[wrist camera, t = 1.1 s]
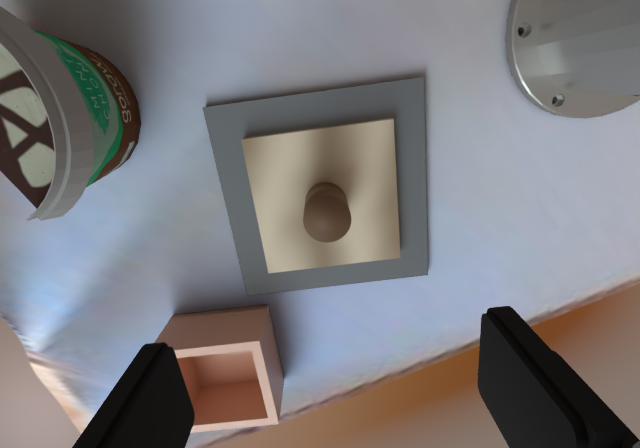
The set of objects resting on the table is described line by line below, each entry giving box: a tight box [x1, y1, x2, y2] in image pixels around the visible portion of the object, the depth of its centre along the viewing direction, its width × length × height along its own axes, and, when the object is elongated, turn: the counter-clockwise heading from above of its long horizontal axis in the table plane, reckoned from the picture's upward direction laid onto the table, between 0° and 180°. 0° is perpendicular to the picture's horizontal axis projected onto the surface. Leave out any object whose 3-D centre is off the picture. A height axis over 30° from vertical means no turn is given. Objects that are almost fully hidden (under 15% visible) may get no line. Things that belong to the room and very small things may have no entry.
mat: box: [203, 77, 428, 296], centre depth 27 cm, size 16×16×1 cm
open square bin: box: [155, 304, 284, 433], centre depth 31 cm, size 9×9×5 cm
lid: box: [241, 118, 400, 273], centre depth 25 cm, size 11×11×5 cm
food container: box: [0, 7, 141, 221], centre depth 20 cm, size 12×6×10 cm, turn 32°
